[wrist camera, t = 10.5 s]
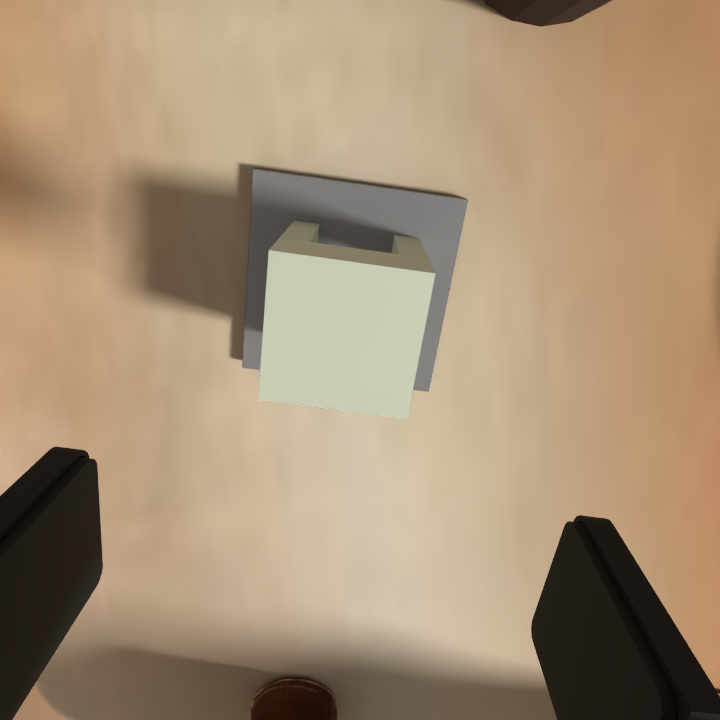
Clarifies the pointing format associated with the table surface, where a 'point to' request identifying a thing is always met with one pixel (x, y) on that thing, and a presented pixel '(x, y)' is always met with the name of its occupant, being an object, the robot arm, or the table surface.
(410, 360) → the notched sage block
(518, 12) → the lantern
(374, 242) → the felt pad
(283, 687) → the coffee cup
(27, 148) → the table surface
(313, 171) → the table surface
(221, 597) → the table surface
